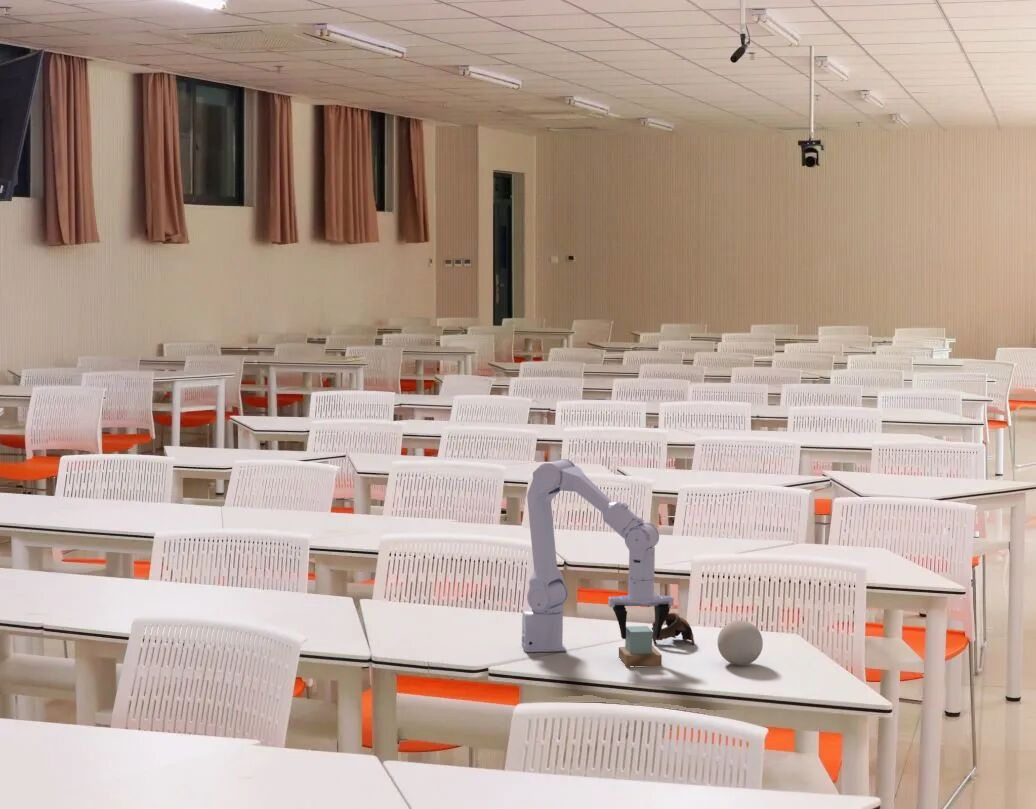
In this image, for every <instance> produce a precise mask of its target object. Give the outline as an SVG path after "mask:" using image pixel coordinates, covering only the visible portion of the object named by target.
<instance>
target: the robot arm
mask: <svg viewBox="0 0 1036 809" xmlns="http://www.w3.org/2000/svg"><path fill="white" fill-rule="evenodd" d="M531 480H532V481H531V483H530V486H529V488H528V491H527V493H526V497H527V498H526V499H527V508H528V511H527V512H528V520H529V521H528V522H529V530H530V538H531V539H530V541H531V549H532V550H531V551H532V560H533V572H532V574H531V576H530V578H529V581H528V584H529V585H528V586H529V588H528V591H527V595H526V600H527V604H528V606H529V607H530V610H524V611H523V612H522V617H521V618H522V619H521V621H522V623H521V646H522V648H523V649H524V651H525V652H526V653H545V652H547V653H549V652H550V653H551V652H566V651H567V648H566V646H565V645H564V643H563V635H564V634H563V632H564V630H563V628H564V627H563V626H564V612H563V611H564V604H565V602H566V601H567V600H568V596H569V589H568V586H567V585H566V583H565V581H564V575H563V573H562V572H561V569H559V568H558V563H557V562H558V561H557V552H556V538H555V532H554V519H553V508H552V500H554V498H555V497H556V496H557V495H558V494H559V493H560V492H561V491H563V492H574V493H577V494H578V495H579V496H580V497H582V498H583V499H585V500H586V501H587V502H588V503H589V504H590V505H592V506H593V507H595V508H596V509H597V510H598V511H600V513H601V514H602V520H603V522H604V523H605V524H607V525H608V526H609V527H610V528H612V530H614V532H616V533H617V535H619V536H620V537H621V538H623V539H624V543H625V546H626V548H627V549H628V551H629V553H628V555H629V556H628V594H627V595H620V596H618V595H617V596H608V602H607V603H608V607H609V608H612V610H613V612H614V614H615V615H614V616H616V617H615V618H616V619H617V623H618V627H619V631H620V637H621V639H622V640H625V639H626V627H627V616H628V611H627V609H626V607H651V606H653V607H654V609H653V610H654V621H655V628H654V636H655V637H656V638H660V632H661V629H663V626H664V623H665V622H666V620H665V619H666V617H667V615H668V613H670V610H671V609H670V607H674V597H673V596H672V595H656V594H655V566H656V565H655V562H656V561H655V560H656V558H655V556H656V555H655V549H656V547H655V546H656V545H657V544H658V543H659V540H660V534H659V533H660V532H659V530H658V529H657V527H655V525H654V524H653V523H652V522H644V521H645V520H644V519H643V518H642V517H638V516H637V515H636V514H635V513H633V511H631V510H630V509H629V505H628V504H627V503H626V502H623V503H622V502H621V501H612V500H611V499H610V498H609V497H608V496H607V495H606V494H605V493H604V492H603V491H602V490H601V489H600V488H599V487H598V486H597V485H596V484H595V483H594V482H593V481H592V480H591V479H590V478H588V476H587V475H586V474H585V473H584V471H583V470H582V469H581V467H579V466H577V465H575V464H574V462H573V461H571V460H570V459H567V458H562V459H558V460H556V461H551V462H544V463H542V464H540V465H539V466H538V467H537V468H536V469H535V470H534V471H533V472H532V479H531ZM664 621H665V622H664Z"/></svg>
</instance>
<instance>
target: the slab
mask: <svg viewBox="0 0 1036 809" xmlns="http://www.w3.org/2000/svg"><path fill="white" fill-rule="evenodd" d="M619 658H620V659H621V660H620V659H619ZM618 659H619V660H620V661H622V662H623V663H624V664H625V665H624V664H623V663H622V662H621V663H622V664H623V665H624V666H625V668H626V667H627V668H631V667H630V666H634V667H633V668H636V667H635V666H661V667H662V654H661V653H660V652H659V651H658V650H657V648H656V647H655V646H653V645H652V653H647V654H630V653H629V652H628V651H627V650H626V648H625V646H619V647H618Z"/></svg>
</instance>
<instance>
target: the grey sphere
mask: <svg viewBox="0 0 1036 809" xmlns="http://www.w3.org/2000/svg"><path fill="white" fill-rule="evenodd" d="M763 645H764V642H763V637H762V634H761V632H760V630H759V629H758V628H757V627H756V625H754V624H753V623H751V622H749V621H746V620H742V619H740V620H739V619H737V620H733V621H732V620H731V621H730V622H728V623H727V624H725V625H724V626H723V627H722V628H721V630H720V631H719V633H718V635H717V649H718V651H719V654H720V655H721V657H722V658H723V659H724V660H725V661H727V662H728V663H730V664H732V665H733V666H734V665H735V666H746V665H750V664H752V663H753V662H754V661H756V660H757V659H759V656H760V655H761V653H762V651H763Z"/></svg>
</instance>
